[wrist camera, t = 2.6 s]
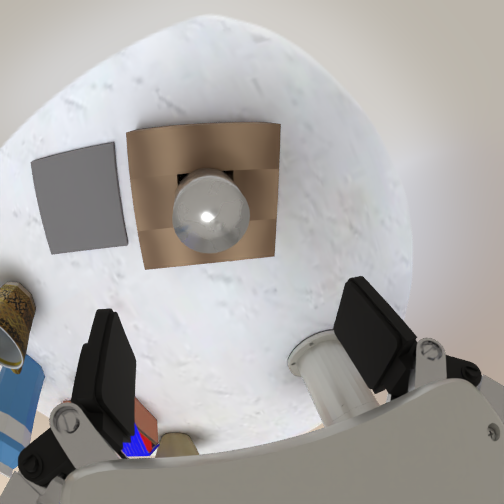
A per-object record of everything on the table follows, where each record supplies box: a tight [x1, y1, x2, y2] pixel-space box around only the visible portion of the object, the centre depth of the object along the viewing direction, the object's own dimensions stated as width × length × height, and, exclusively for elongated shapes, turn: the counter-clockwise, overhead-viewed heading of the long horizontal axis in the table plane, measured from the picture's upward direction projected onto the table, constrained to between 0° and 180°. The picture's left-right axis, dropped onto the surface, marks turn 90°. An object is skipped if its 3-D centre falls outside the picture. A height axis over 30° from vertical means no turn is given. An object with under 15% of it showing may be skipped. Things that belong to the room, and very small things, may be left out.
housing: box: [126, 122, 281, 270], centre depth 27 cm, size 14×14×5 cm
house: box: [63, 397, 160, 456], centre depth 41 cm, size 12×20×12 cm, turn 98°
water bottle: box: [0, 355, 45, 478], centre depth 24 cm, size 9×9×25 cm
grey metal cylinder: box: [172, 168, 250, 253], centre depth 25 cm, size 6×6×10 cm
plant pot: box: [155, 433, 199, 458], centre depth 49 cm, size 15×15×16 cm
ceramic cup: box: [0, 282, 36, 374], centre depth 25 cm, size 13×10×10 cm
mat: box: [31, 142, 128, 254], centre depth 26 cm, size 11×12×1 cm
